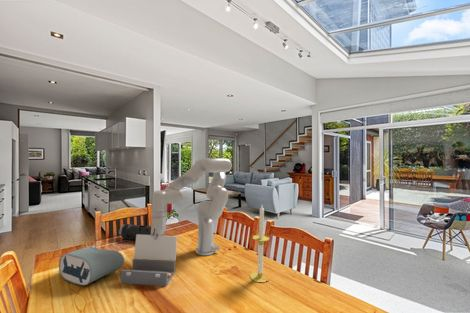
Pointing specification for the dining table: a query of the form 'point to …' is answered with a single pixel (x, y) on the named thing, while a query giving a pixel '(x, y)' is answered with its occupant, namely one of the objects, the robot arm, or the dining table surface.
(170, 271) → the cable duct
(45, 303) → the dining table surface
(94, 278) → the pencil case
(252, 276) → the candle
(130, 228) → the muzzle brake
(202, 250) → the robot arm
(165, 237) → the plate
